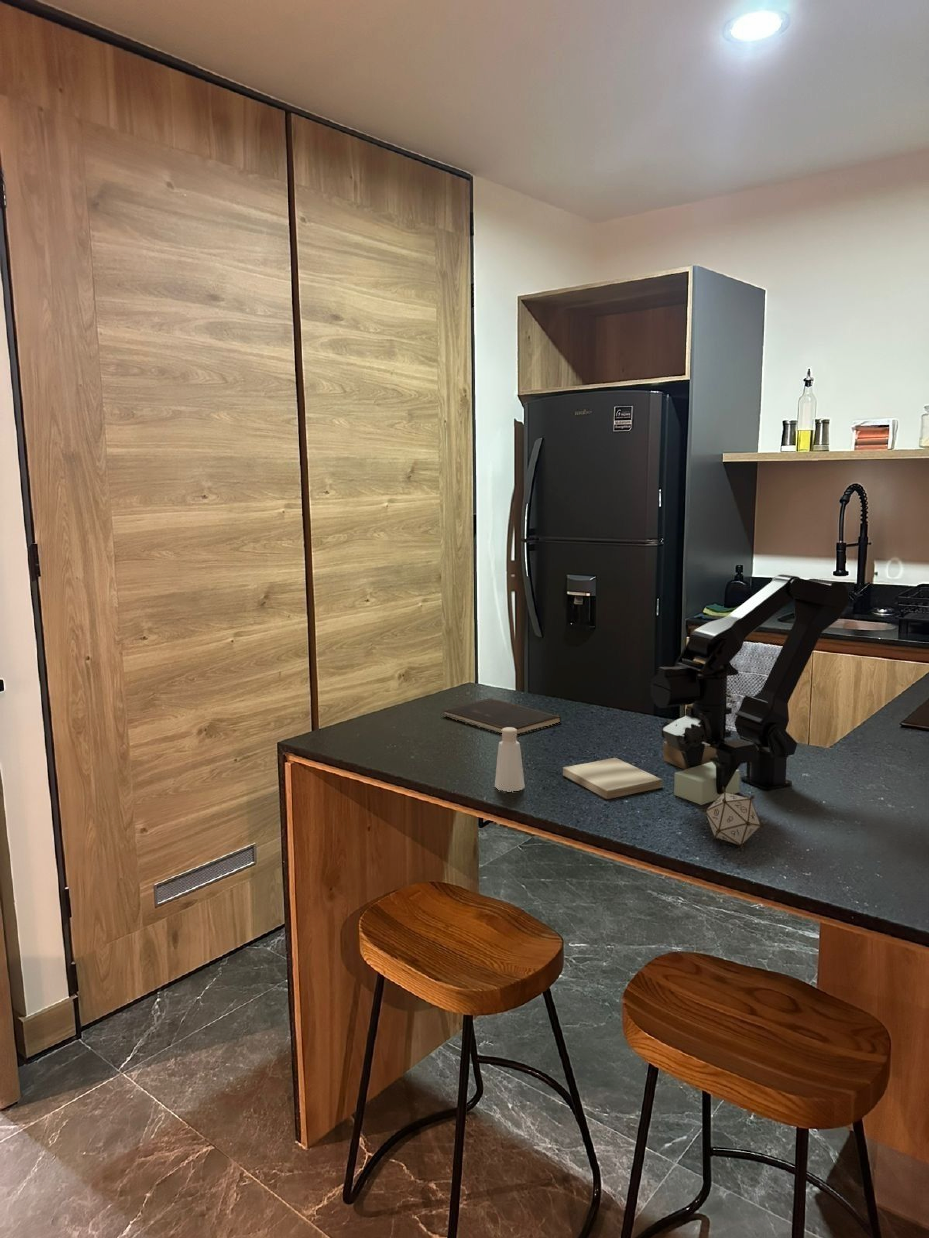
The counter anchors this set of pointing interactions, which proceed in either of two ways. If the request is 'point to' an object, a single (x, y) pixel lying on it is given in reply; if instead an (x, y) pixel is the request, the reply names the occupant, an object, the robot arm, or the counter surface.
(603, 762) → the birch board
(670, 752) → the walnut block
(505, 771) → the salt shaker
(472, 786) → the counter surface
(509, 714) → the hardcover book
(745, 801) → the game die
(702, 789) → the green block
